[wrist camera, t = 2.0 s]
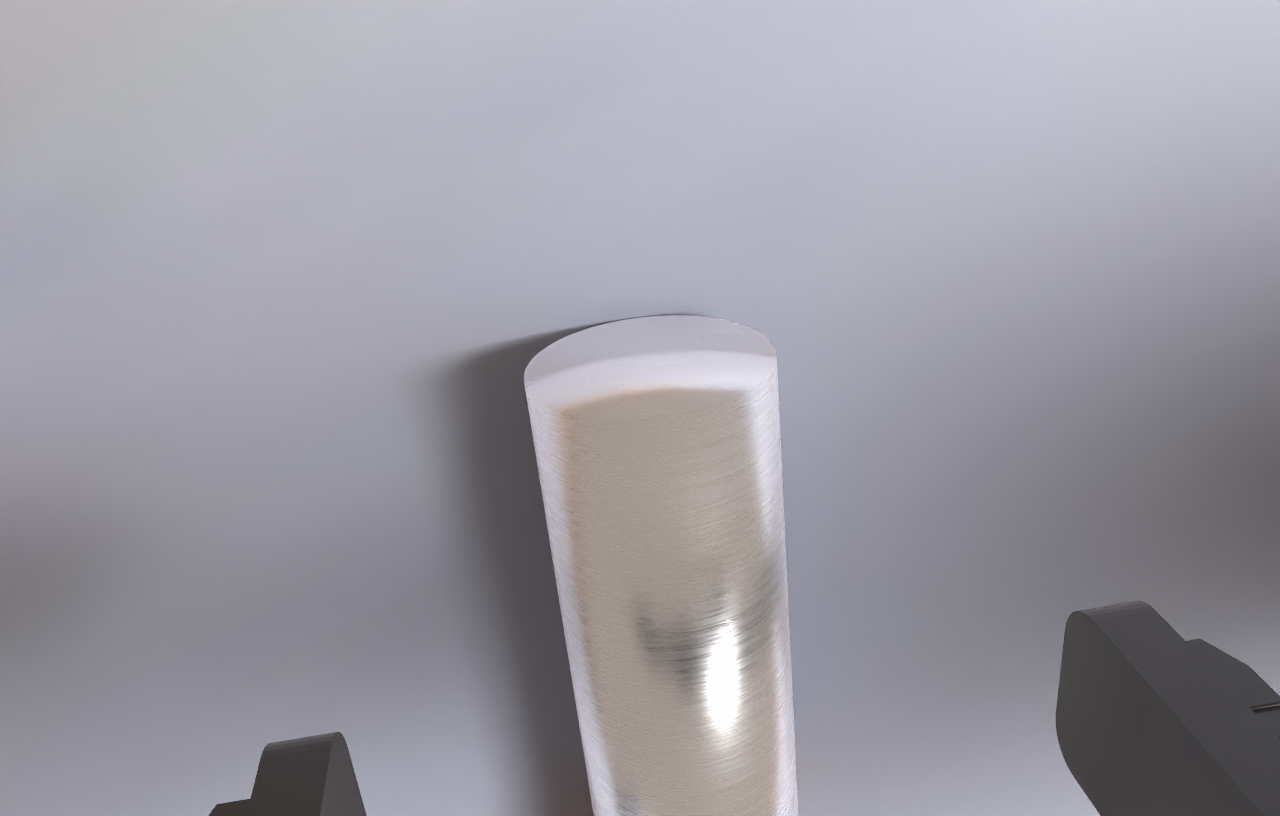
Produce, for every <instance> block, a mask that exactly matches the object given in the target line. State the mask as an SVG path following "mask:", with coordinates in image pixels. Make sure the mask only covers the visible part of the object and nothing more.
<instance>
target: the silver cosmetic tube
mask: <svg viewBox="0 0 1280 816" xmlns="http://www.w3.org/2000/svg"><path fill="white" fill-rule="evenodd" d="M524 385H525V391H526V397H527V404H528V410H529V416H530V422H531V429H532V435H533V441H534V447H535V453H536V460H537V466H538V472H539V478H540V485H541V491H542V497H543V503H544V509H545V516H546V522H547V528H548V534H549V541H550V547H551V553H552V559H553V565H554V572H555V578H556V584H557V590H558V597H559V603H560V609H561V615H562V621H563V628H564V634H565V640H566V646H567V653H568V659H569V665H570V671H571V677H572V684H573V690H574V696H575V702H576V709H577V715H578V721H579V727H580V733H581V740H582V746H583V752H584V758H585V765H586V771H587V777H588V783H589V789H590V796H591V802H592V808H593V814H594V816H798V798H797V777H796V755H795V734H794V713H793V691H792V670H791V649H790V628H789V606H788V585H787V564H786V543H785V521H784V500H783V479H782V457H781V436H780V415H779V394H778V372H777V353H776V349H775V347H774V345H773V343H772V342H771V341H770V340H769V339H768V338H767V337H766V336H765V335H764V334H762V333H761V332H759V331H757V330H755V329H753V328H751V327H749V326H746V325H743V324H740V323H737V322H733V321H729V320H725V319H719V318H713V317H704V316H690V315H665V316H649V317H640V318H632V319H626V320H620V321H615V322H610V323H606V324H602V325H598V326H594V327H591V328H587V329H584V330H582V331H579V332H576V333H573V334H571V335H568V336H566V337H564V338H562V339H560V340H558V341H556V342H554V343H552V344H550V345H549V346H547V347H546V348H544V349H543V350H541V351H540V352H539V353H538V354H537V355H535V356H534V358H533V359H532V360H531V361H530V362H529V364H528V365H527V367H526V369H525V372H524Z"/></svg>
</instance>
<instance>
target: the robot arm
mask: <svg viewBox="0 0 1280 816" xmlns="http://www.w3.org/2000/svg"><path fill="white" fill-rule="evenodd" d="M1056 730H1057V736H1058V741H1059V744H1060V748H1061V751H1062V754H1063V757H1064V759H1065V761H1066V764H1067V766H1068V768H1069V769H1070V771H1071V773H1072V775H1073V776H1074V778H1075V779H1076V781H1077V782H1078V783H1079V785H1080V786H1081V788H1082V789H1083V791H1084V792H1085V794H1086V795H1087V796H1088V798H1089V799H1090V801H1091V802H1092V804H1093V805H1094V807H1095V808H1096V809H1097V811H1098V812H1099V814H1100V815H1101V816H1280V696H1279V695H1278V694H1277V693H1276V692H1275V691H1274V690H1273V689H1272V688H1271V687H1270V686H1269V685H1268V684H1267V683H1266V682H1264V681H1263V680H1262V679H1261V678H1260V677H1259V676H1258V675H1257V674H1256V673H1255V672H1254V671H1253V670H1252V669H1251V668H1250V667H1249V666H1248V665H1246V664H1244V663H1242V662H1241V661H1239V660H1237V659H1235V658H1233V657H1232V656H1230V655H1228V654H1226V653H1224V652H1223V651H1221V650H1219V649H1217V648H1216V647H1214V646H1212V645H1210V644H1208V643H1207V642H1205V641H1203V640H1201V639H1196V640H1190V641H1184V640H1183V639H1182V637H1181V636H1180V635H1179V634H1178V633H1177V632H1176V631H1175V630H1174V629H1173V628H1172V627H1171V626H1170V625H1169V624H1168V623H1167V622H1166V621H1165V620H1164V619H1163V618H1162V617H1161V616H1160V615H1159V614H1158V613H1157V612H1156V611H1155V610H1154V609H1153V608H1152V607H1151V606H1150V605H1148V604H1146V603H1144V602H1141V601H1134V602H1128V603H1122V604H1116V605H1110V606H1104V607H1098V608H1092V609H1086V610H1080V611H1076V612H1073V613H1072V614H1071V615H1070V616H1069V618H1068V620H1067V623H1066V627H1065V635H1064V644H1063V654H1062V663H1061V672H1060V681H1059V690H1058V699H1057V708H1056ZM209 816H366V812H365V809H364V805H363V801H362V798H361V794H360V791H359V787H358V783H357V780H356V776H355V773H354V769H353V765H352V762H351V758H350V754H349V751H348V747H347V744H346V741H345V739H344V737H343V735H342V734H341V733H340V732H335V733H329V734H323V735H317V736H311V737H305V738H299V739H293V740H287V741H281V742H275V743H269V744H267V745H266V747H265V748H264V750H263V752H262V756H261V759H260V763H259V767H258V771H257V775H256V779H255V783H254V787H253V791H252V795H251V799H246V800H240V801H234V802H228V803H223V804H217V805H216V806H215V808H214V809H213V810H212V812H211V813H210V814H209Z"/></svg>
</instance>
